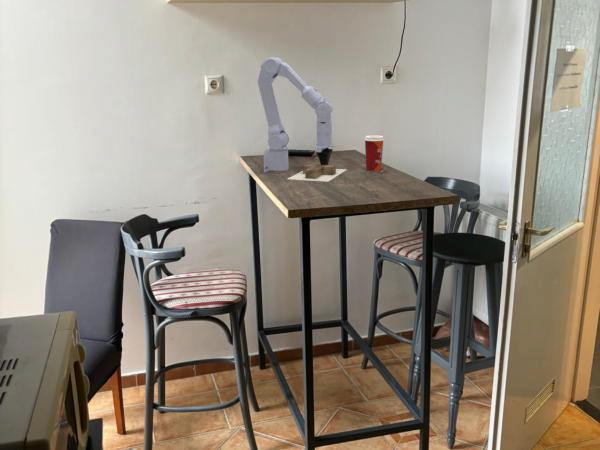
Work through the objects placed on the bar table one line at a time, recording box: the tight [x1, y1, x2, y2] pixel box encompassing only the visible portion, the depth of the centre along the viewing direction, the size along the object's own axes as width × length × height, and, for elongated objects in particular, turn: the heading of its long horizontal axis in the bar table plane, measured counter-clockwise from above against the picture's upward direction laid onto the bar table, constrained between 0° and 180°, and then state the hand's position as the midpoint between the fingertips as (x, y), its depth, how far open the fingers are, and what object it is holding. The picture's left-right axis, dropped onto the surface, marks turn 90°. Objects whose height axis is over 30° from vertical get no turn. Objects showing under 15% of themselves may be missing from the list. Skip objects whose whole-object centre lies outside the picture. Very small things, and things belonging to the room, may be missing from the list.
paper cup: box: [363, 134, 385, 174], centre depth 231 cm, size 8×8×14 cm
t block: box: [302, 163, 337, 179], centre depth 223 cm, size 12×12×3 cm
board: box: [287, 168, 348, 185], centre depth 226 cm, size 16×24×1 cm, turn 159°
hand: (324, 167), depth 232 cm, fingers closed
